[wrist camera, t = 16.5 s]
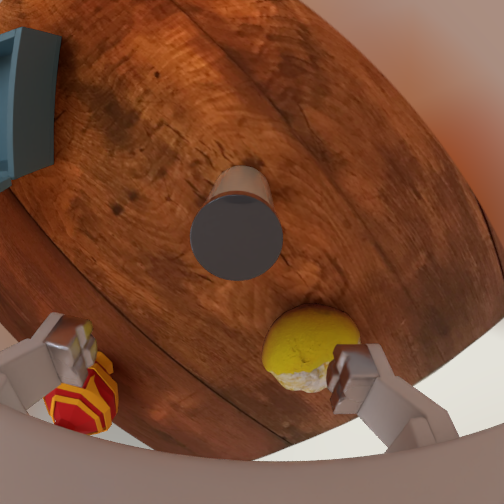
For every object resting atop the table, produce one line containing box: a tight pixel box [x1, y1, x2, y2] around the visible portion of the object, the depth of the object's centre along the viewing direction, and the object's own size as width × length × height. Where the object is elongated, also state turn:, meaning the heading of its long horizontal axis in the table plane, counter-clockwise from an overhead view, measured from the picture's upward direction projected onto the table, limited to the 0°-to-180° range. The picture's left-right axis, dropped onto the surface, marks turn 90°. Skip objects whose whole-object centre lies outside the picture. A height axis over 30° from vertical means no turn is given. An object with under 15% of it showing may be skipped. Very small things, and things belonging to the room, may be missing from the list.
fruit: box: [262, 303, 361, 393], centre depth 33 cm, size 11×10×8 cm
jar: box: [190, 166, 283, 281], centre depth 24 cm, size 6×6×11 cm
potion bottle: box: [43, 351, 119, 435], centre depth 31 cm, size 10×10×15 cm
